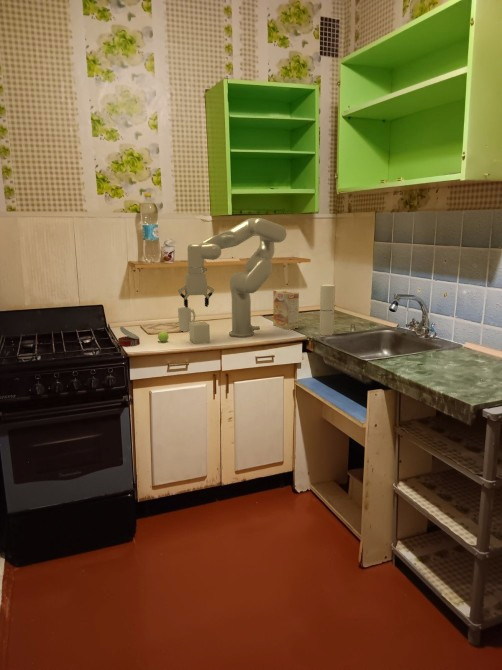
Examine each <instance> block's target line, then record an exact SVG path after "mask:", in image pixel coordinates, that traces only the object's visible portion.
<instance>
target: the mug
mask: <svg viewBox="0 0 502 670" xmlns="http://www.w3.org/2000/svg"><path fill="white" fill-rule="evenodd" d="M177 313H178V315H177V316H178V330H181V331H183V333H186V332H189V323H194V322H196V313H195V309H194V308H191V307H190V306H188V308H186V307H185V306H183V307H178V308H177ZM192 314H193V318H192ZM181 331H180V332H181Z"/></svg>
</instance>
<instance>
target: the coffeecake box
mask: <svg viewBox="0 0 502 670" xmlns="http://www.w3.org/2000/svg"><path fill="white" fill-rule="evenodd" d="M272 294H273V299H272V300H273V301H272V303H273V307H272V308H273V311H272V312H273V320H272V321H273V326H275V327H278V328H281V329H283V330H287V329H288V330H287V331H290V330H289V329H292V330H296V329H295V328H298V329H299V315H300V314H299V311H300V310H299V303H300V300H299V298H300V293H299V292H295V291H292V290H287V289H274V290H273V293H272Z"/></svg>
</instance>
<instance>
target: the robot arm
mask: <svg viewBox="0 0 502 670" xmlns="http://www.w3.org/2000/svg"><path fill="white" fill-rule="evenodd" d="M254 236H255V237H256V236H257V237H258V236H259V246H258V248H257V249H256V250H255V252H254V253H253V254H252V255H251V256H250V258H248V259H247V261H246V263H245V264H244V270H245V271H238V272H235V273H233V274H232V275H231V276H230V278H229V288H230V294H231V330H230V331H229V333H228V335H229V336H231V337H235V338H247V337H252V336H253V335H255V333H254V331H259V330H260V329H261V327H260V326H259V325H258V326H257V325H252V323H251V322H252V321H251V320H252V316H251V315H252V309H251V308H252V307H251V306H252V305H251V302H252V301H251V300H252V299H251V295H250V294H255V293H256V292H257V291H258V290H259V289H260V288H261V287H262V286H263V285H264V284H265V282H267V280H268V279H269V277H270V276H271V275H272V272H273V269H274V268H273V267H274V266H273V263H272V261H271V260H272V258H273V257H274V256H275V255H274V254H275V243H277V244H278V243H282V242H284V240H286V238H287V230H286V228H285V227H284V226H283V225H281V224H279V223H276V222H273V221H271V220H268V219H265V218H261V217H249V218H248V219H247V218H246V219H245V220H243V221H242V222H240V223H238V224H237V225H235V226H233V227H232V228H230V229H228V230H226V231H223V232H221V233H219V234H215V235H213V236H212V237H210V238H208V239H206V240H204V241H202V242H201V243H200V244H199V243H192V244H191V243H190V244H188V245H187V273H186V274H185V281H184V286H182V287H181V288H179V289H178V290H177V292H178V293H179V295H180V297H181V298H182V299H183V307H186V308H188V307H189V300H188V298H189V296H204V297H205V298H204V307H206V308H208V307H209V305H210V298H211V296H213V293H215V292H214V291H215V288H213V287H211V286H210V285H208V282H207V276H206V275H207V274H206V273H205V272H207V271H208V268H206V267H205V260H209V261H210V260H212V261H214V260H217V259H219V258H220V257H221V255H222V250H223V249H227V248H228V249H229V248H235V247H237V246H239V245H241V244H242V243H244V242H246V241H248V240H249V239H251V238H252V237H254ZM208 290H209V293H208ZM183 292H184V293H185V294H184V293H183Z"/></svg>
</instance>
